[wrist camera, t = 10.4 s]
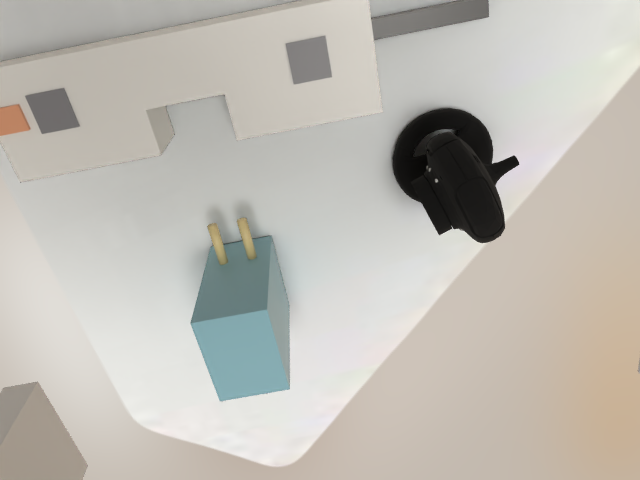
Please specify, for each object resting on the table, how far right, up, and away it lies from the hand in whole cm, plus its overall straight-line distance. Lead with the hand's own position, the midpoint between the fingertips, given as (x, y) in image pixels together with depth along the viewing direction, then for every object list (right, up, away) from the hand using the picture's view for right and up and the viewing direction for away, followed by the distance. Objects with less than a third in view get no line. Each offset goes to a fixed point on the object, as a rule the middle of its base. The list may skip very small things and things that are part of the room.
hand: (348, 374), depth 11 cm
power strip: (-5, +15, +24) cm, 29 cm away
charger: (-7, +1, +32) cm, 32 cm away
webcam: (+8, +9, +28) cm, 31 cm away
